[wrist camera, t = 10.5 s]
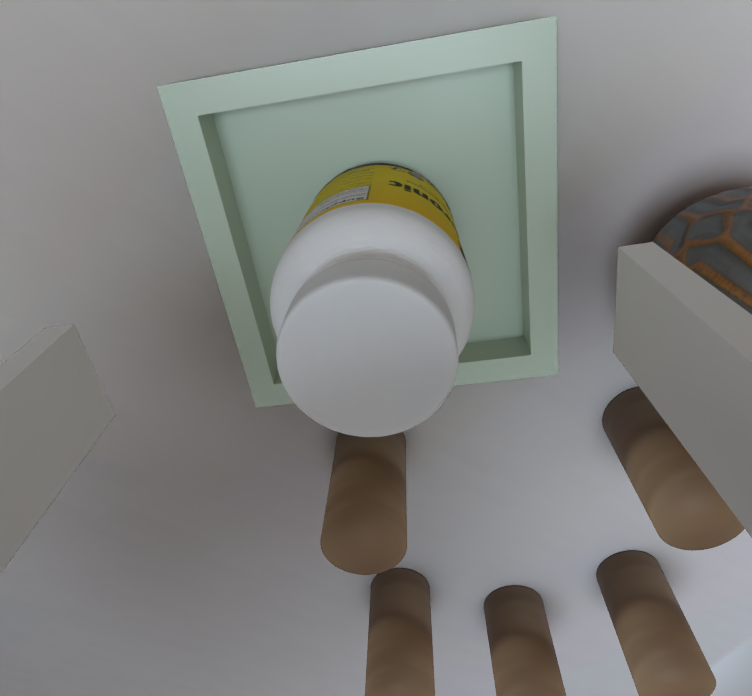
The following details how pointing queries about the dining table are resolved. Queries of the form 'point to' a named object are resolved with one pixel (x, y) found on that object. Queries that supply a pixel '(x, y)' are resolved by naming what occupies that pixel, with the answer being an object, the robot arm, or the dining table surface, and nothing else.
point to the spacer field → (521, 604)
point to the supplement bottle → (372, 302)
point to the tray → (396, 145)
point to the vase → (715, 242)
